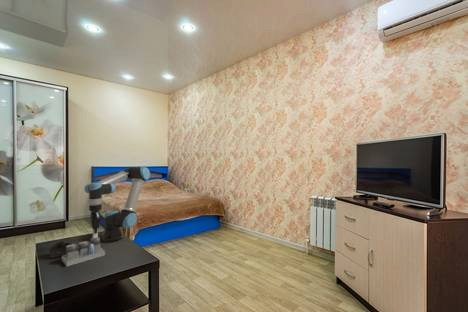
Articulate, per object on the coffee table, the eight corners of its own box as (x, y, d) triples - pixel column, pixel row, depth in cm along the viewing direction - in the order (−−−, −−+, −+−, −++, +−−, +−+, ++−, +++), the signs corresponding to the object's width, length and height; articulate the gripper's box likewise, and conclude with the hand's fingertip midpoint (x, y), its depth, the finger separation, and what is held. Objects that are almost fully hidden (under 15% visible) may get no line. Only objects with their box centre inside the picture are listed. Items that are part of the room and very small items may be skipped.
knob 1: (75, 253, 151) (75, 242, 151) (77, 255, 147) (77, 245, 147) (65, 256, 146) (65, 245, 147) (67, 258, 143) (67, 247, 143)
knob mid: (87, 250, 156) (87, 240, 156) (89, 252, 152) (89, 242, 152) (77, 253, 152) (77, 242, 152) (80, 255, 148) (80, 244, 148)
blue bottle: (92, 252, 153) (92, 243, 153) (94, 252, 152) (94, 243, 151) (89, 253, 151) (88, 244, 151) (90, 254, 150) (90, 245, 149)
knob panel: (98, 249, 165) (98, 240, 165) (105, 255, 155) (105, 245, 155) (61, 260, 148) (61, 249, 148) (66, 266, 139) (66, 255, 139)
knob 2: (98, 245, 161) (98, 236, 161) (101, 247, 157) (101, 237, 157) (89, 248, 157) (89, 238, 157) (92, 250, 153) (92, 239, 153)
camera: (69, 250, 165) (69, 236, 165) (75, 253, 159) (75, 239, 160) (46, 256, 154) (46, 242, 154) (52, 260, 148) (52, 245, 148)
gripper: (86, 204, 159) (86, 237, 159) (92, 206, 151) (92, 241, 150) (98, 202, 165) (98, 234, 164) (104, 204, 156) (104, 238, 156)
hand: (95, 237), depth 157 cm, fingers closed
